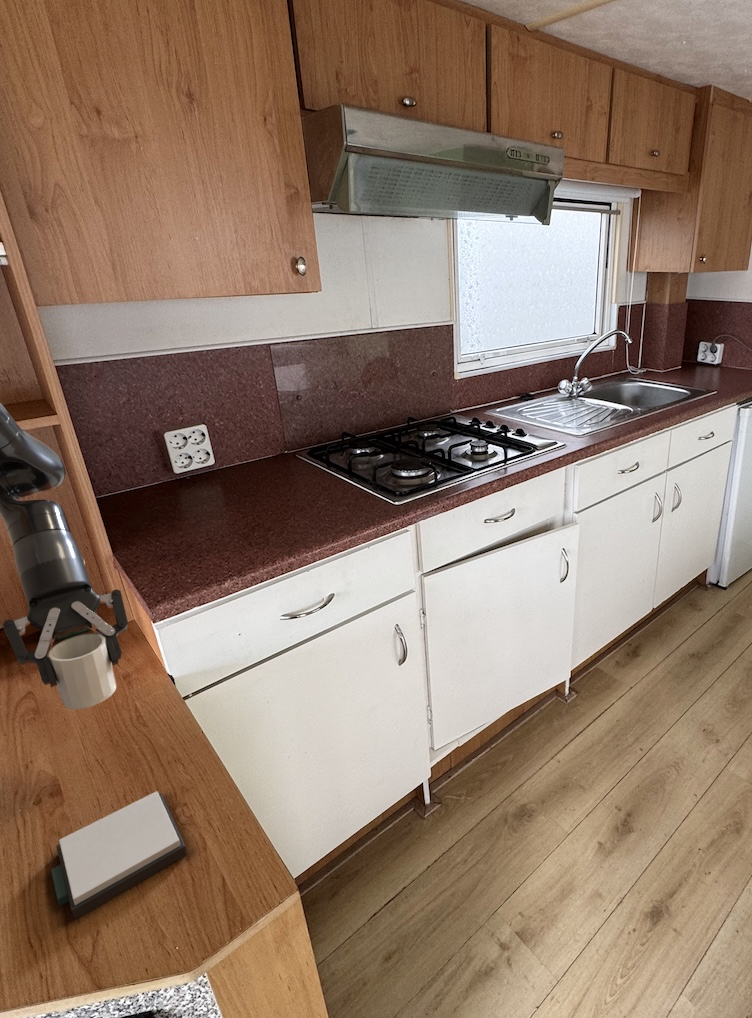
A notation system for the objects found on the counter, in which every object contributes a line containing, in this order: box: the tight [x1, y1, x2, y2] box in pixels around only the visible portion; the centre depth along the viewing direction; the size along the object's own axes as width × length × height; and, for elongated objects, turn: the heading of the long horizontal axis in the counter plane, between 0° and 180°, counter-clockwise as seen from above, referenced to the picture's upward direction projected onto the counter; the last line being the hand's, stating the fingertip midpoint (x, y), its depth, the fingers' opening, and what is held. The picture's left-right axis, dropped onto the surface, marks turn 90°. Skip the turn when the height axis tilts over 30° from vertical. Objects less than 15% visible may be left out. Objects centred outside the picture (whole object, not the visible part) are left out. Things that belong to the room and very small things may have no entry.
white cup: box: [48, 632, 117, 710], centre depth 81 cm, size 6×6×8 cm
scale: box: [50, 790, 188, 921], centre depth 73 cm, size 13×11×3 cm
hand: (85, 673), depth 80 cm, fingers closed on white cup, 6 cm apart
